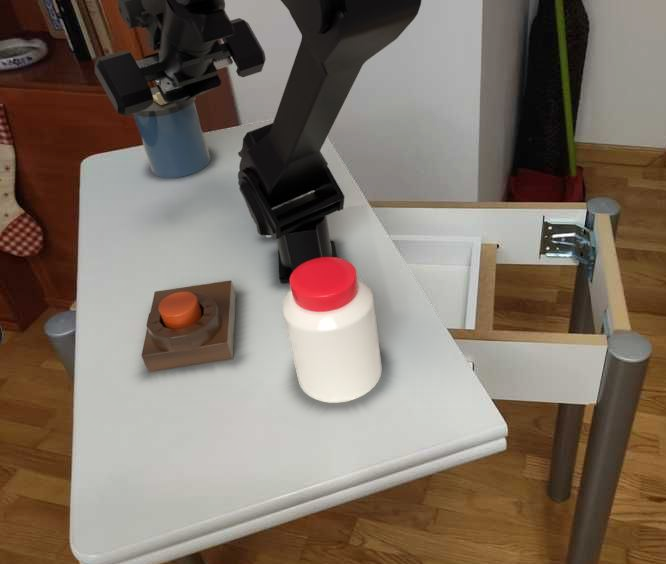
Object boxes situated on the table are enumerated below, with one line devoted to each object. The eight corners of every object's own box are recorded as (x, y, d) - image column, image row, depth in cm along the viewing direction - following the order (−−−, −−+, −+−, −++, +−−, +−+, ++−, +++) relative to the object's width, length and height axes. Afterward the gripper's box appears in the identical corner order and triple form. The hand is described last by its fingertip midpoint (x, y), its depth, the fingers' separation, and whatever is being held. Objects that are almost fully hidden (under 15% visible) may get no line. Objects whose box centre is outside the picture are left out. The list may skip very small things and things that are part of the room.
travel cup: (223, 163, 94) (205, 95, 88) (164, 185, 91) (141, 116, 84) (196, 144, 100) (177, 79, 93) (140, 164, 96) (116, 98, 90)
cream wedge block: (177, 100, 87) (174, 88, 86) (160, 105, 86) (157, 94, 85) (168, 94, 89) (165, 83, 88) (152, 99, 88) (148, 88, 87)
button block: (232, 361, 63) (222, 330, 60) (148, 374, 62) (134, 343, 60) (236, 296, 70) (227, 265, 68) (160, 307, 70) (148, 277, 67)
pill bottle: (372, 406, 57) (359, 308, 50) (287, 399, 58) (262, 303, 51) (388, 346, 63) (378, 250, 55) (310, 341, 64) (291, 247, 57)
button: (200, 326, 61) (195, 312, 60) (161, 332, 61) (155, 318, 60) (203, 303, 64) (198, 289, 63) (166, 308, 64) (160, 294, 63)
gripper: (231, -59, 73) (212, 26, 87) (65, -21, 65) (73, 65, 80) (280, 30, 74) (253, 100, 88) (120, 78, 66) (119, 146, 80)
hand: (177, 100), depth 84 cm, fingers closed
